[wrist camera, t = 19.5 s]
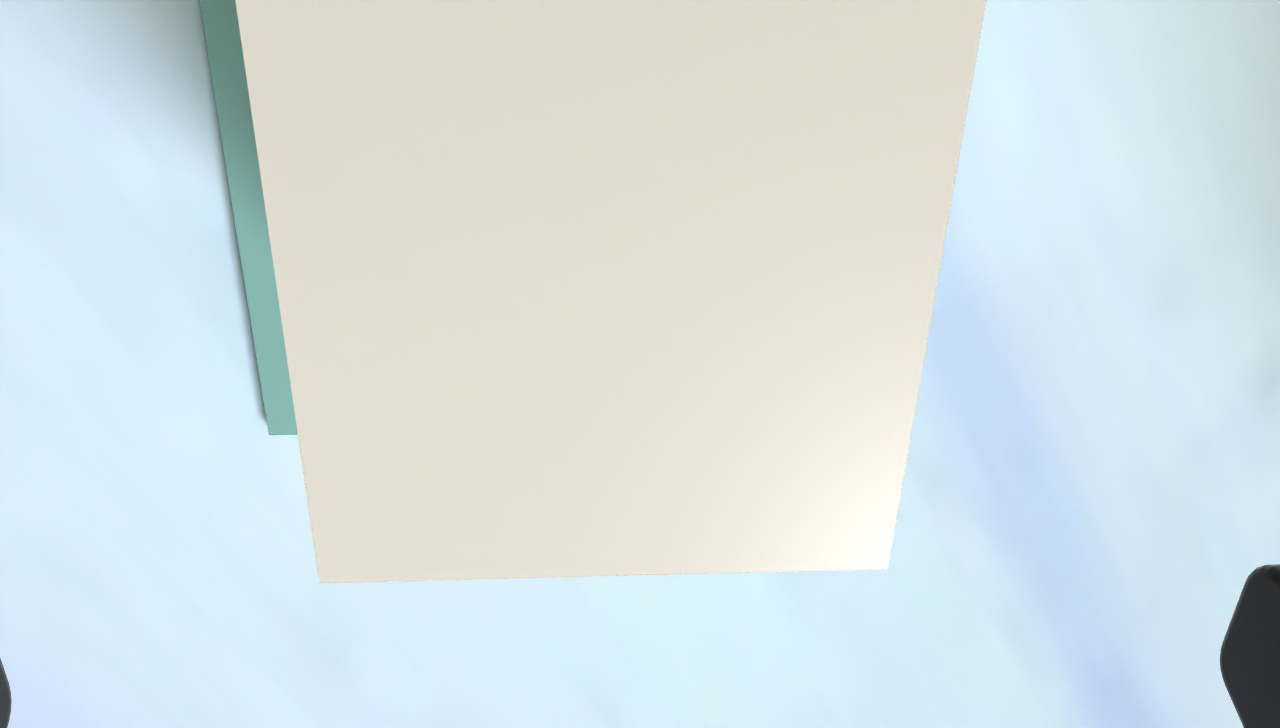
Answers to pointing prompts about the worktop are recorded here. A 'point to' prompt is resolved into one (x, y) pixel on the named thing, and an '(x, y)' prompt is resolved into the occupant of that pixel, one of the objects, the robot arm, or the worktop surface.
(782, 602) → the worktop surface
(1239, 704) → the robot arm
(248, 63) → the plain beige box
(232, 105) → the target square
